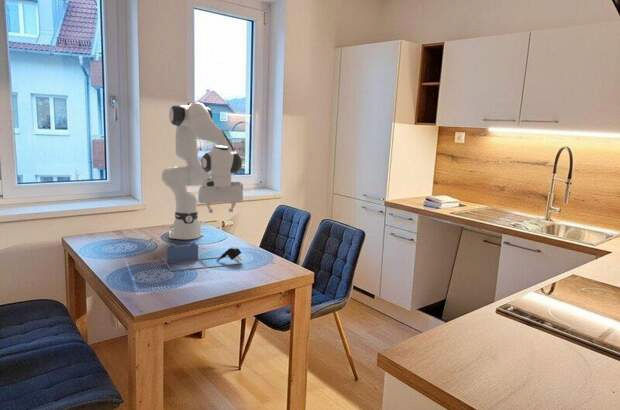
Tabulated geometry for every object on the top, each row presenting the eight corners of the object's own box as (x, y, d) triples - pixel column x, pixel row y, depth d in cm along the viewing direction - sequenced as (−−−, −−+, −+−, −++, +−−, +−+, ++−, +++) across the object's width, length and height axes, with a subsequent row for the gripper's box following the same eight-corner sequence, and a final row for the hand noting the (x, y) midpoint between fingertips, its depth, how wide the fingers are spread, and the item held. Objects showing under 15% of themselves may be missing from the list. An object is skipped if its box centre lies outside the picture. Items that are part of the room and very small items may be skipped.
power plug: (218, 258, 208) (236, 243, 206) (228, 270, 208) (246, 256, 205) (213, 261, 203) (232, 246, 200) (223, 274, 203) (242, 259, 200)
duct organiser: (163, 261, 201) (163, 244, 200) (231, 255, 217) (231, 239, 215) (170, 271, 188) (170, 252, 187) (242, 264, 203) (242, 246, 202)
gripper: (240, 181, 207) (240, 210, 209) (197, 181, 198) (197, 212, 200) (245, 182, 202) (244, 212, 204) (200, 183, 192) (200, 214, 194)
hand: (220, 212), depth 202 cm, fingers open, 8 cm apart
